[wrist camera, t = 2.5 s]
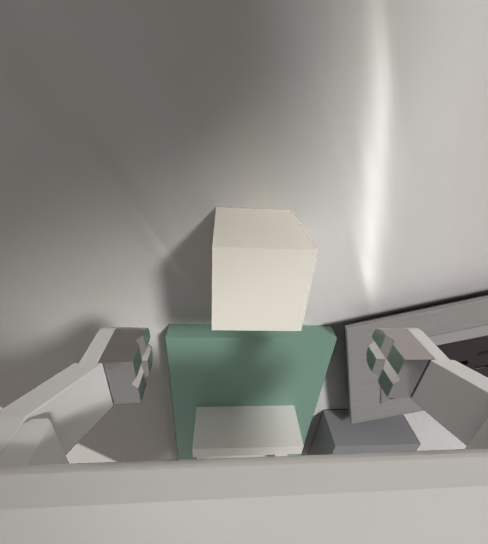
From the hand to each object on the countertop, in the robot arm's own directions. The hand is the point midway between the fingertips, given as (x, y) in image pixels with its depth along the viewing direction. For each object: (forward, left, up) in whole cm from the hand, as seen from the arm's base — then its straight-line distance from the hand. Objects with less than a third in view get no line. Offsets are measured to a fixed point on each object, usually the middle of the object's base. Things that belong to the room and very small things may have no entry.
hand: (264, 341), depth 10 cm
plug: (-1, 0, -7) cm, 7 cm away
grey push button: (+18, +11, -7) cm, 22 cm away
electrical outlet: (+7, +14, -8) cm, 17 cm away
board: (+13, +1, -7) cm, 15 cm away
